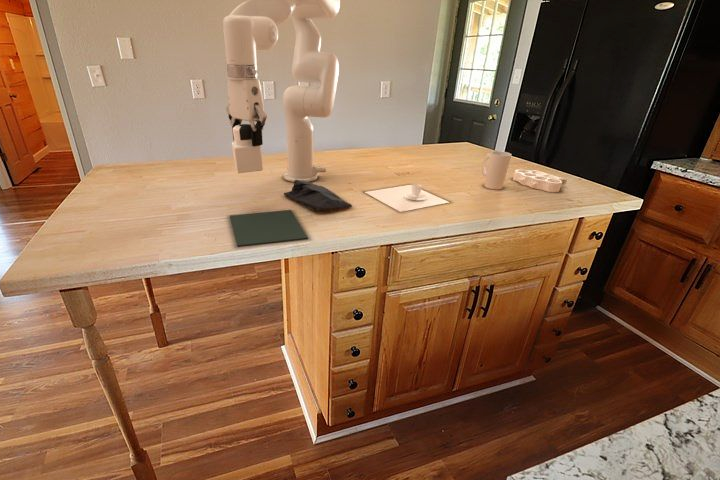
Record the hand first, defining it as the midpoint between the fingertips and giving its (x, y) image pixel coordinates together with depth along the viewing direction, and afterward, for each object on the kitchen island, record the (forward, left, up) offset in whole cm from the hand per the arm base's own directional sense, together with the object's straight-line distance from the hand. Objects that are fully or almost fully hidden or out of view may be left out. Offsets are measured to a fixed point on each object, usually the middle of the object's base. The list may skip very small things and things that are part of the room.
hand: (247, 142), depth 109 cm
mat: (-2, +14, -20) cm, 24 cm away
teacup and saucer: (-51, +1, -20) cm, 55 cm away
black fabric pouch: (-21, -2, -20) cm, 29 cm away
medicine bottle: (0, 0, -8) cm, 8 cm away
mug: (-87, -3, -20) cm, 89 cm away
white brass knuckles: (-106, 0, -20) cm, 108 cm away
